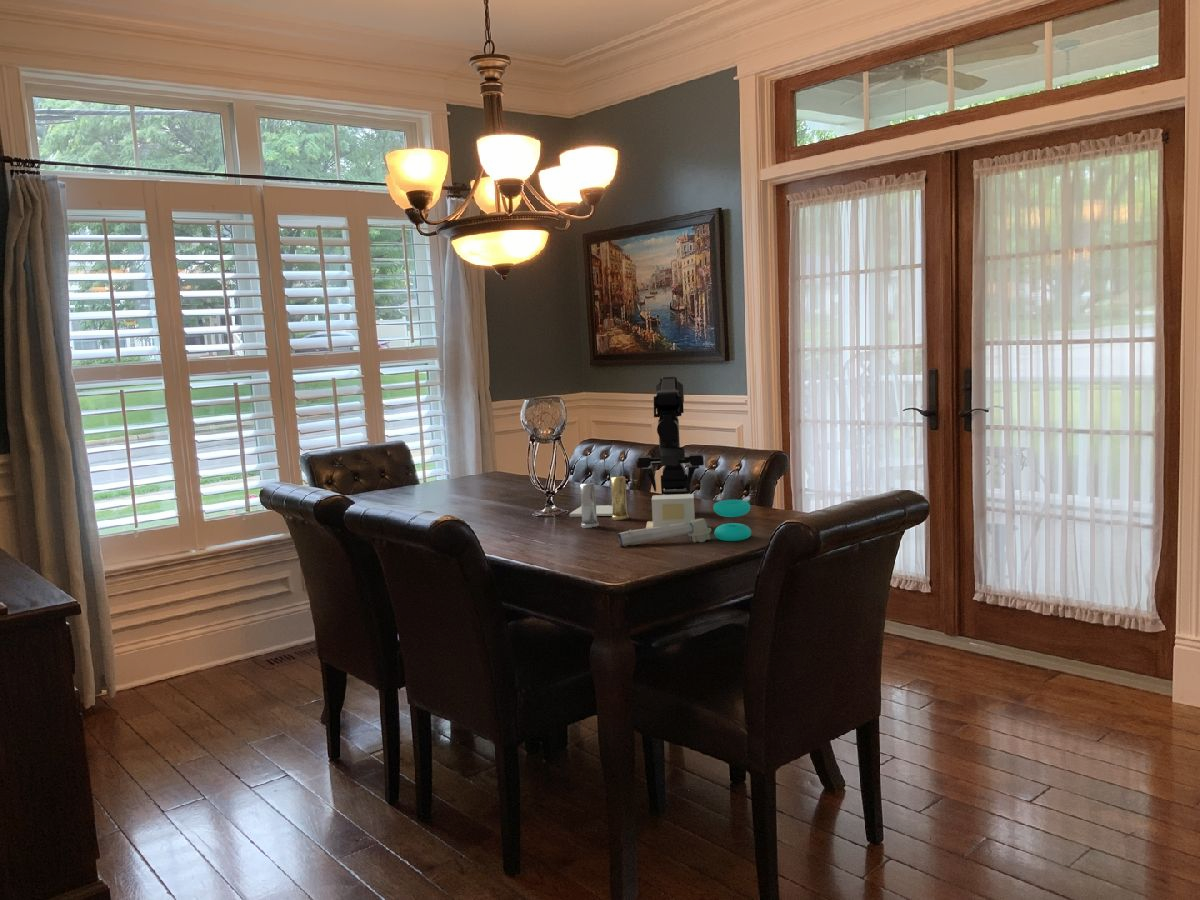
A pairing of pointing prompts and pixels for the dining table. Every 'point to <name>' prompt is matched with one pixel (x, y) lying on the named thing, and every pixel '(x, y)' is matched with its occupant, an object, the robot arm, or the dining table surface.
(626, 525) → the dining table surface
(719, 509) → the donuts
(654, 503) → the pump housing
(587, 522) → the cylinder
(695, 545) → the dining table surface
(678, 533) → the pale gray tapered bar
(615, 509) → the cylinder
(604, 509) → the plate
